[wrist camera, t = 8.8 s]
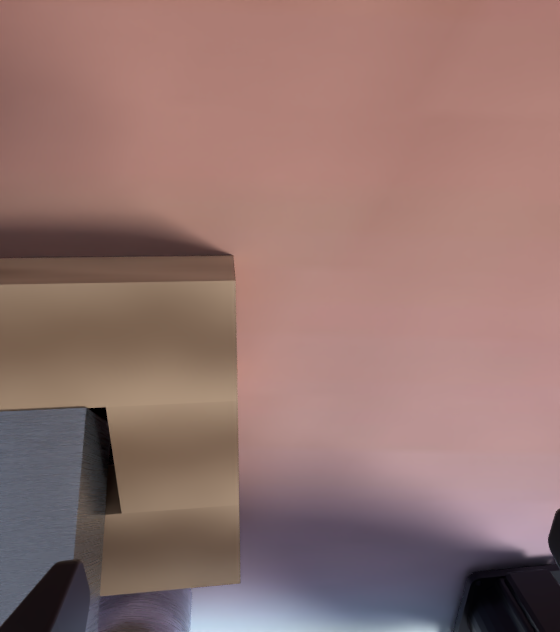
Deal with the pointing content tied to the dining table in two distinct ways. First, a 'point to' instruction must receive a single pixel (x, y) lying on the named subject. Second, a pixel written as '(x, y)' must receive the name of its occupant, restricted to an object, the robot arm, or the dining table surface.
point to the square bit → (51, 499)
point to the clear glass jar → (146, 612)
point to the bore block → (139, 400)
